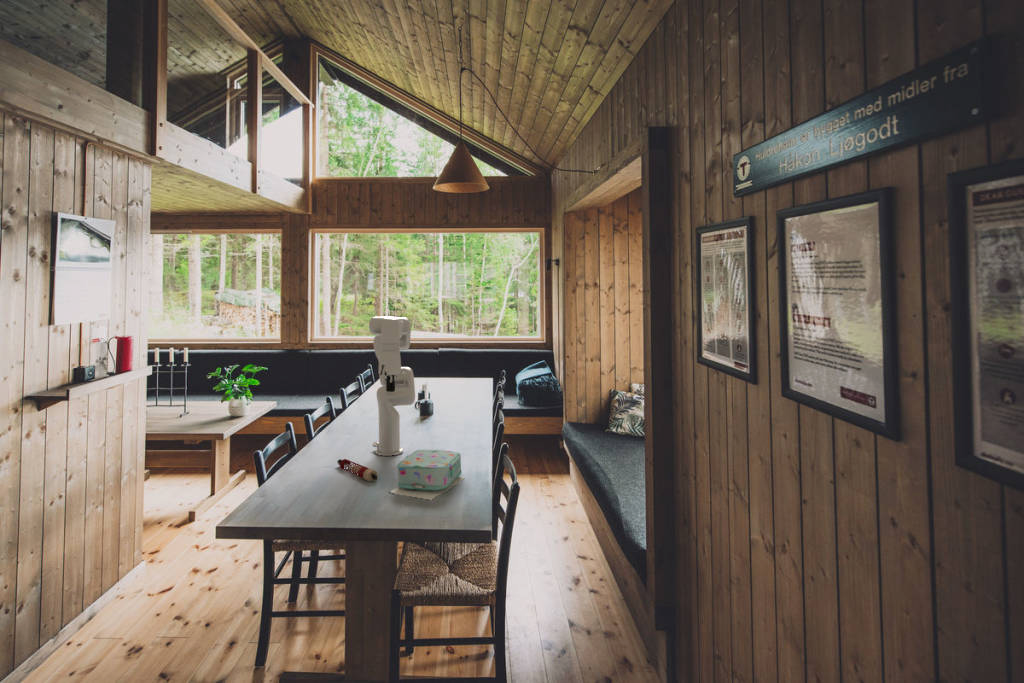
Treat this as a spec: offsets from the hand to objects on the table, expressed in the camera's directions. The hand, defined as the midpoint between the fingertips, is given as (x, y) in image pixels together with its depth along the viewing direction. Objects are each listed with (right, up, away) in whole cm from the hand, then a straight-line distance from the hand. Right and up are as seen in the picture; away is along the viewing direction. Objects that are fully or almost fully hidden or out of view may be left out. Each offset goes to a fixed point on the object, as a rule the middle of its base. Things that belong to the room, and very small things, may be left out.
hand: (390, 391), depth 220 cm
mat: (+19, -35, -17) cm, 43 cm away
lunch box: (+9, -29, -13) cm, 33 cm away
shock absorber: (-13, -34, -5) cm, 37 cm away
